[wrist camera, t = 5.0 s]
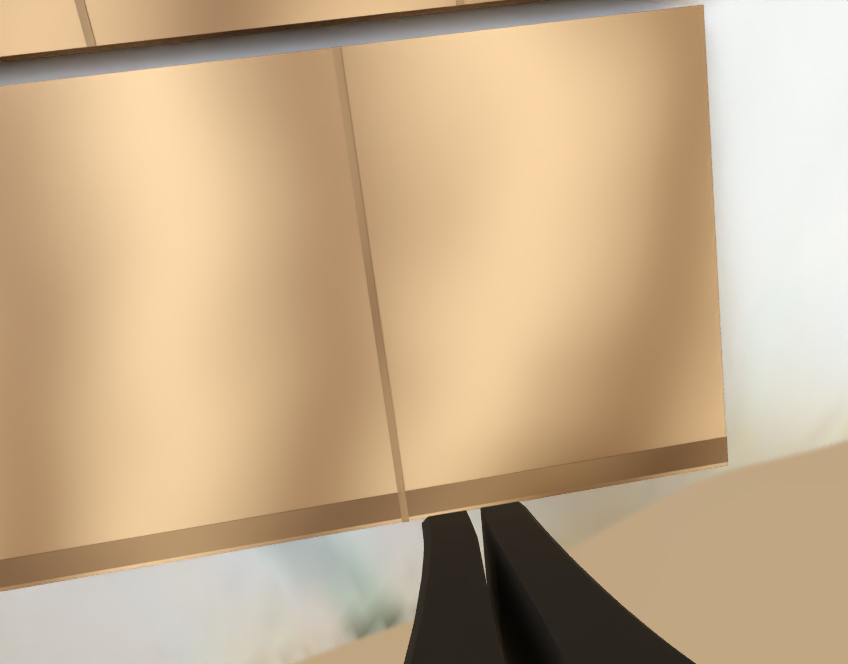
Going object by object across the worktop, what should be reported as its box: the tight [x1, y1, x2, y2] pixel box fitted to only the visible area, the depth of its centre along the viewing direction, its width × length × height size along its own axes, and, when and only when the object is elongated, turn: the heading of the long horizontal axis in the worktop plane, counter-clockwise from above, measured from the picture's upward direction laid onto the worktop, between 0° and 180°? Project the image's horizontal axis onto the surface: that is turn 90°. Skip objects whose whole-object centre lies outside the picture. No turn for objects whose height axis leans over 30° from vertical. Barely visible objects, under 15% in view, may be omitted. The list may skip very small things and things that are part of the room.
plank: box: [0, 5, 728, 592], centre depth 16 cm, size 18×10×1 cm, turn 96°
